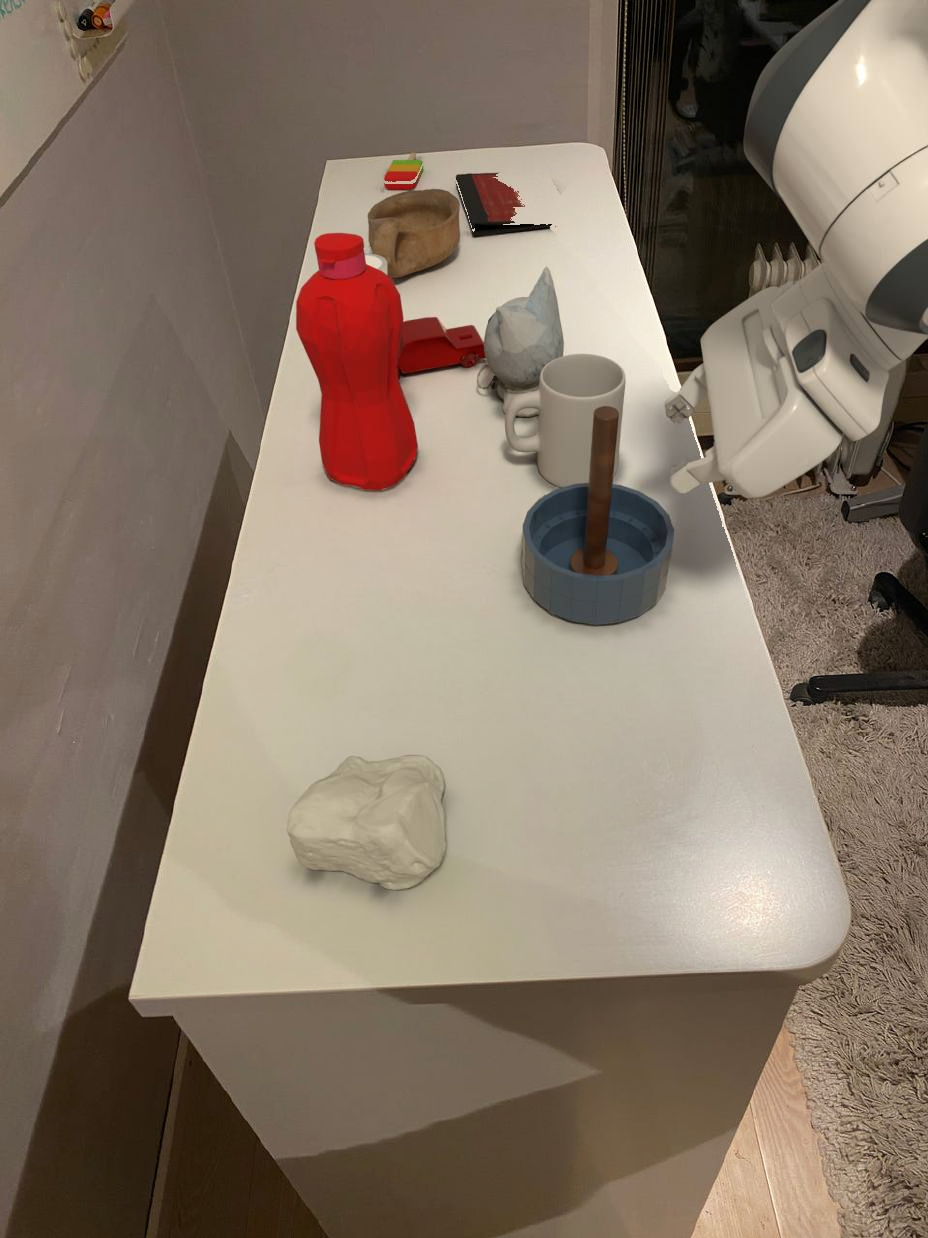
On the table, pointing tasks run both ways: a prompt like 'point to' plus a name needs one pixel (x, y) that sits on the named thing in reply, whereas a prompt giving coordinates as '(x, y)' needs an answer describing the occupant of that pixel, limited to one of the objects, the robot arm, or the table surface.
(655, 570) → the stir bowl
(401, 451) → the water bottle
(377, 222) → the bowl
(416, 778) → the decorative stone
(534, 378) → the figurine
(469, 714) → the table surface
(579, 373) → the mug
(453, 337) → the toy car
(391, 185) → the popsicle
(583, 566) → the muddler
